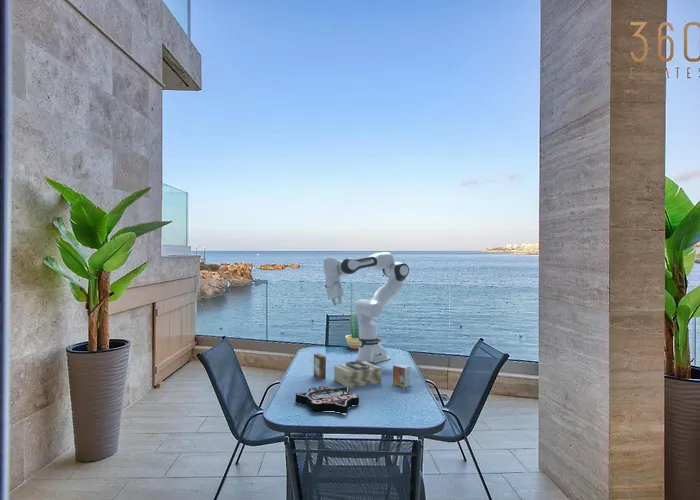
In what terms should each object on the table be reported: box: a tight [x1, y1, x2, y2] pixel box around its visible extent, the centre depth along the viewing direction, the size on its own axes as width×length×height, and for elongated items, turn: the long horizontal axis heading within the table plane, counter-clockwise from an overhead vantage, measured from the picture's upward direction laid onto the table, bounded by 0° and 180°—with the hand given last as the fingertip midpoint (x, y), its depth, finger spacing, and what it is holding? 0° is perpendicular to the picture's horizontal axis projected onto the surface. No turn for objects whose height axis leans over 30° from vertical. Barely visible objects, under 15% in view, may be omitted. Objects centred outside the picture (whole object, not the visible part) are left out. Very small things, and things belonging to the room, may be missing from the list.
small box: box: [392, 363, 412, 389], centre depth 231 cm, size 8×6×10 cm
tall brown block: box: [313, 353, 327, 380], centre depth 245 cm, size 4×8×12 cm, turn 31°
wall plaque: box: [295, 385, 360, 414], centre depth 202 cm, size 28×4×30 cm
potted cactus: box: [344, 312, 359, 350], centre depth 322 cm, size 15×15×25 cm
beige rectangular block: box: [333, 360, 382, 389], centre depth 237 cm, size 20×16×10 cm
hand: (337, 305), depth 270 cm, fingers open, 8 cm apart
